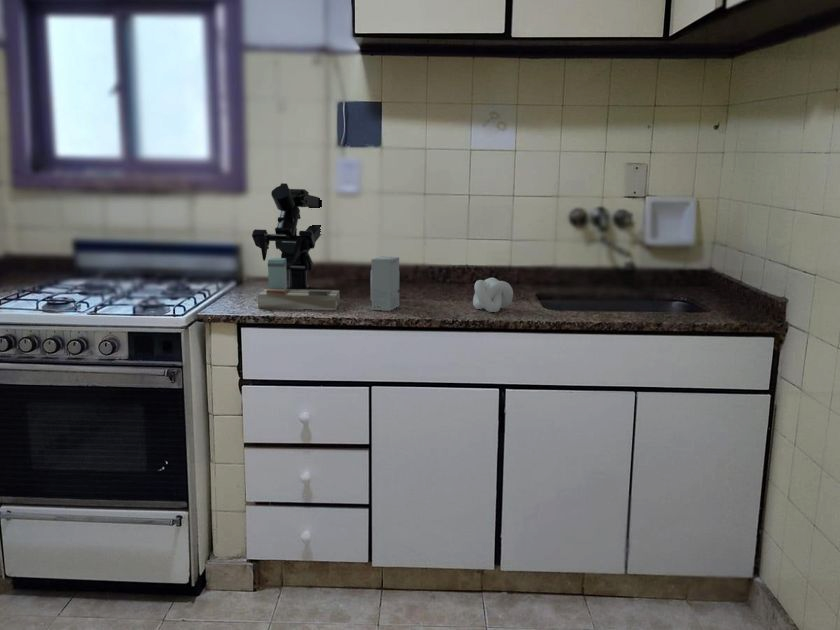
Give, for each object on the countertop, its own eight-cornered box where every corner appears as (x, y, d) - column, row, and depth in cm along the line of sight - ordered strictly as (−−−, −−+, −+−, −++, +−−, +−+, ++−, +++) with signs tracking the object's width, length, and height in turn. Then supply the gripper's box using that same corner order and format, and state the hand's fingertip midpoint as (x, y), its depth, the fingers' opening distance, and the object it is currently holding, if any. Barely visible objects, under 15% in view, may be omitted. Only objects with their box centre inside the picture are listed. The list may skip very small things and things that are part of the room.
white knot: (510, 306, 226) (511, 276, 224) (514, 314, 214) (516, 283, 213) (472, 305, 226) (473, 276, 224) (474, 314, 214) (475, 282, 213)
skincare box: (390, 312, 215) (390, 259, 212) (370, 310, 217) (370, 258, 214) (400, 306, 223) (400, 256, 220) (380, 305, 225) (381, 255, 222)
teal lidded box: (272, 298, 232) (270, 257, 229) (287, 299, 232) (286, 258, 229) (268, 301, 227) (267, 260, 225) (284, 302, 227) (283, 260, 225)
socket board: (265, 301, 227) (265, 284, 226) (339, 303, 226) (339, 286, 225) (258, 308, 217) (257, 290, 216) (335, 310, 216) (335, 292, 215)
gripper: (322, 238, 245) (313, 277, 236) (265, 236, 247) (255, 275, 238) (315, 215, 236) (306, 255, 227) (257, 213, 238) (245, 253, 229)
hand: (278, 260), depth 231 cm, fingers open, 9 cm apart
